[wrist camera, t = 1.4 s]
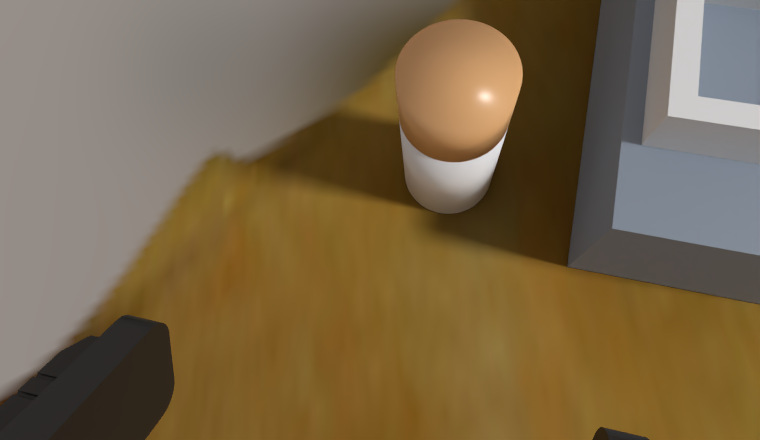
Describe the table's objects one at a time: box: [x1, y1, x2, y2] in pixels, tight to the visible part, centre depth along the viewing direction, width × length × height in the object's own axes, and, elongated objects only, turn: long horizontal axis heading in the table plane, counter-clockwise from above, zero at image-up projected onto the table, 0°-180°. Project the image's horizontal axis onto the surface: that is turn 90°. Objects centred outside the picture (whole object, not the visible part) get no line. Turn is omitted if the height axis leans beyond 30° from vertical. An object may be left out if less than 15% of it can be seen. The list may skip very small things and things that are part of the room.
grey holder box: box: [567, 0, 760, 304], centre depth 25 cm, size 10×20×10 cm, turn 167°
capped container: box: [395, 19, 523, 214], centre depth 25 cm, size 5×5×10 cm
